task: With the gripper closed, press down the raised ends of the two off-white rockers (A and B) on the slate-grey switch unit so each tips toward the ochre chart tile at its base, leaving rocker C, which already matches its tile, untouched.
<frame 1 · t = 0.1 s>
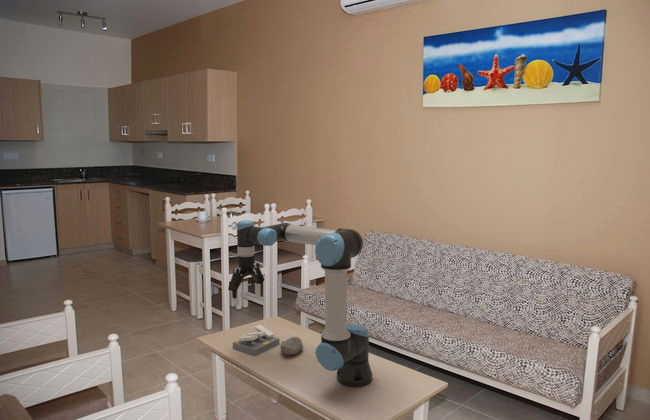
hand: (247, 301, 223), 28 cm above the table, fingers open, 13 cm apart
seashell: (291, 352, 236), on the table
rocker c: (248, 338, 237), point 6 cm above the table, hinge at 16.0°
rocker b: (256, 334, 242), point 6 cm above the table, hinge at 16.0°
rocker a: (264, 331, 246), point 6 cm above the table, hinge at -16.0°
switch unit: (256, 346, 242), on the table
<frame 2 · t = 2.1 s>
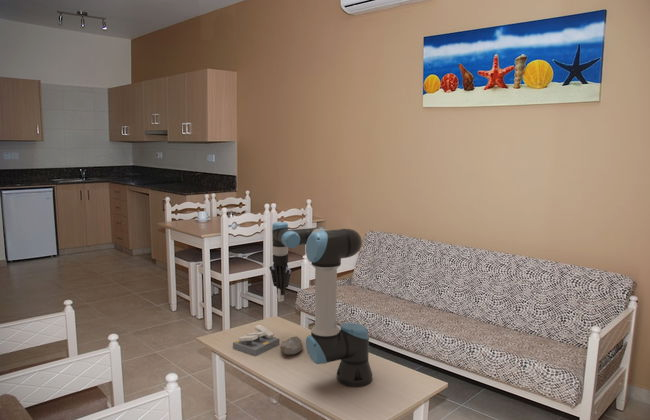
hand: (280, 300, 243), 22 cm above the table, fingers closed
nothing on the table moved.
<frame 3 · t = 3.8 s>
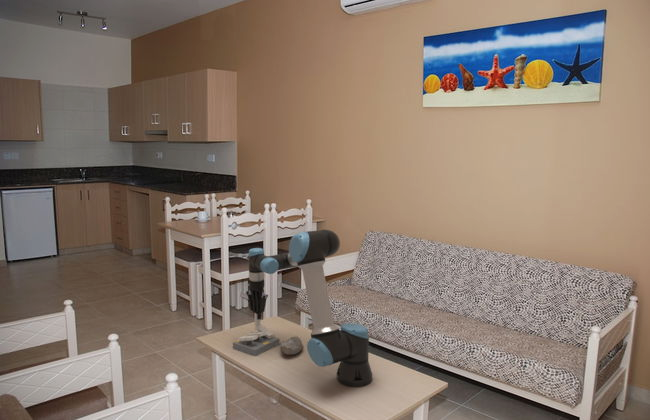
hand: (257, 325, 248), 8 cm above the table, fingers closed
rocker a: (264, 331, 246), point 6 cm above the table, hinge at -16.0°, touching gripper
everything else where it was.
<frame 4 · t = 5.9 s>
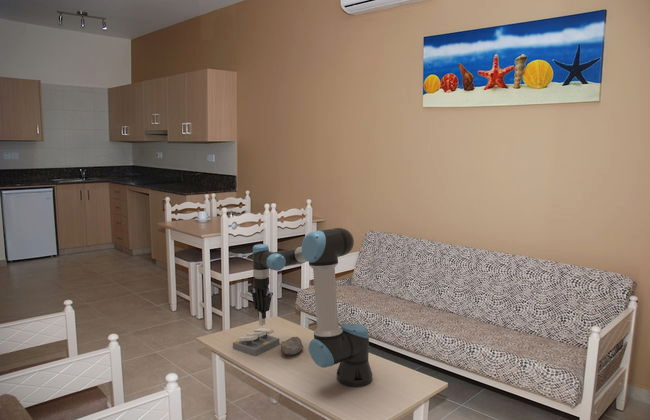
hand: (262, 324, 238), 12 cm above the table, fingers closed
rocker a: (263, 331, 246), point 6 cm above the table, hinge at 8.5°
everything else where it was.
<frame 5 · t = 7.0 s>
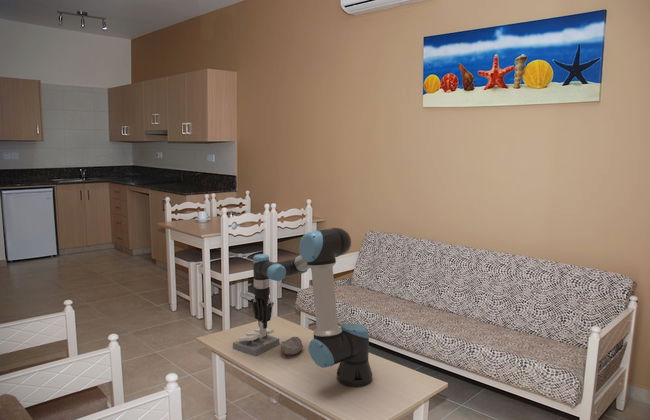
hand: (263, 334, 239), 7 cm above the table, fingers closed, pressing on rocker b
rocker b: (256, 334, 242), point 6 cm above the table, hinge at 9.1°, touching gripper
rocker a: (263, 331, 246), point 6 cm above the table, hinge at 8.9°
everything else where it was.
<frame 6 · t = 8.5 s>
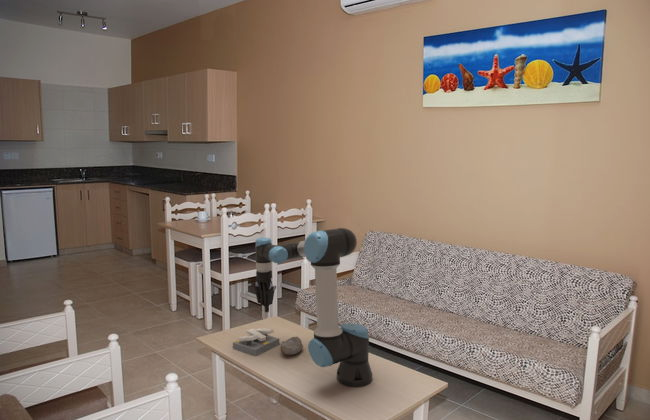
hand: (265, 318, 238), 15 cm above the table, fingers closed
rocker b: (256, 334, 241), point 6 cm above the table, hinge at -11.7°
everything else where it was.
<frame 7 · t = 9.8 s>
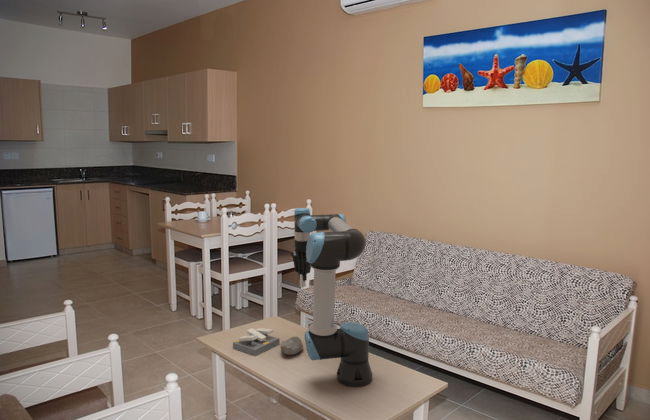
hand: (302, 286, 244), 28 cm above the table, fingers closed
rocker b: (256, 334, 241), point 6 cm above the table, hinge at -12.3°
everything else where it was.
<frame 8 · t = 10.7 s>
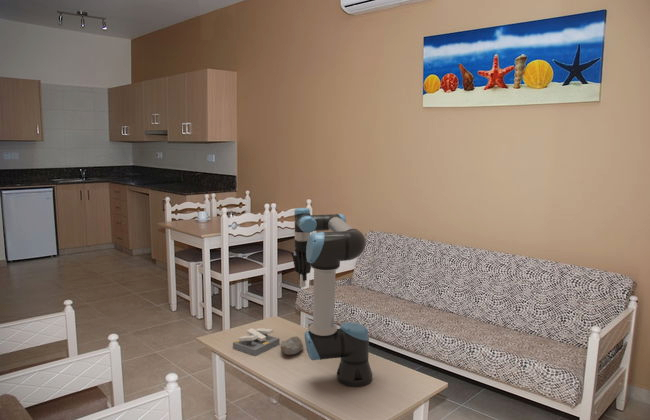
hand: (302, 286, 244), 28 cm above the table, fingers closed
nothing on the table moved.
at the end: rocker a at +9° (first picture: -16°); rocker b at -12° (first picture: +16°); rocker c at +16° (first picture: +16°) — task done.
